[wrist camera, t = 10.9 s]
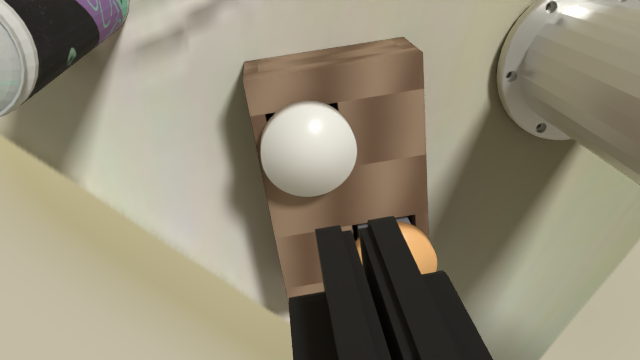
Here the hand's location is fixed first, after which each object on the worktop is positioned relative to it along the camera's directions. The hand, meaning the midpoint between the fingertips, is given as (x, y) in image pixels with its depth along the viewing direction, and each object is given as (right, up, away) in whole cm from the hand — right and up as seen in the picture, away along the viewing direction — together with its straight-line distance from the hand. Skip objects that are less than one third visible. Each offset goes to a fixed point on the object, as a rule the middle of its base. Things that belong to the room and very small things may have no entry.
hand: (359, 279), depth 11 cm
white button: (-2, +7, +29) cm, 29 cm away
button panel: (+1, +3, +31) cm, 32 cm away
